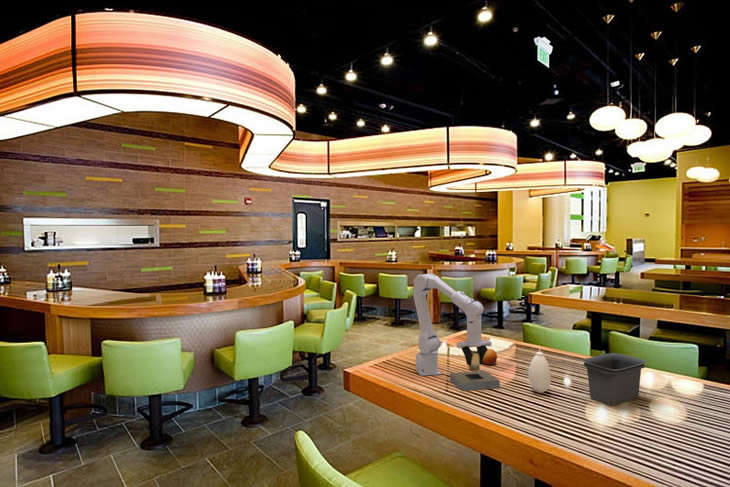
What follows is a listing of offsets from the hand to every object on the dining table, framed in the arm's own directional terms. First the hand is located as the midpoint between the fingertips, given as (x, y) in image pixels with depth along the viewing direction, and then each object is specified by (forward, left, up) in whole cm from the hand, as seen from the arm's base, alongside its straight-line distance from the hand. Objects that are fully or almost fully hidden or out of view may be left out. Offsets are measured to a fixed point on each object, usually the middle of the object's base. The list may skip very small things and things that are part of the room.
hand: (474, 364), depth 160 cm
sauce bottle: (+21, -13, -8) cm, 26 cm away
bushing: (0, 0, -2) cm, 2 cm away
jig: (0, 0, -8) cm, 8 cm away
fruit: (+19, +23, -8) cm, 31 cm away
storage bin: (+44, -23, -8) cm, 50 cm away
